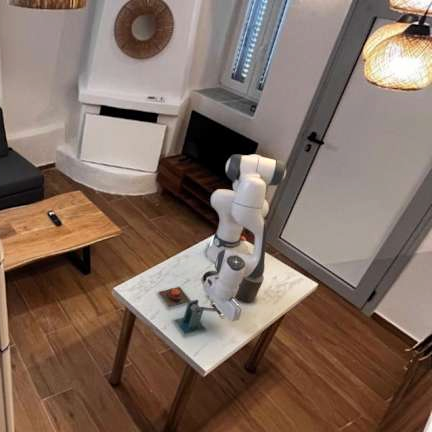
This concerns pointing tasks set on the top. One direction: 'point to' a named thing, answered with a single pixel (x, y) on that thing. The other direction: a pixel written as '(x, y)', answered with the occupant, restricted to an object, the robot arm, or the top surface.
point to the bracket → (191, 319)
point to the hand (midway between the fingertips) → (216, 311)
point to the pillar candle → (249, 289)
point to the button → (175, 292)
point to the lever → (206, 308)
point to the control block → (173, 300)
